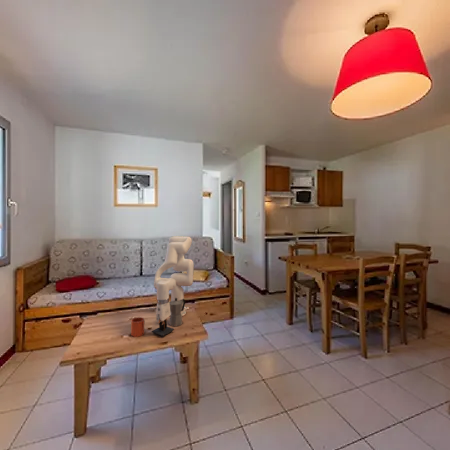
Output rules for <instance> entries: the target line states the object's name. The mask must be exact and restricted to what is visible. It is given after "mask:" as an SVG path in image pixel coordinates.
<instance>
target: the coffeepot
mask: <svg viewBox="0 0 450 450" xmlns="http://www.w3.org/2000/svg"><path fill="white" fill-rule="evenodd" d="M169 303H170V312H171V316H169V322H168V325H169V327H170V326H171V327H180V326H182V325H183V323H184V322H183V316H182V315H181V311H183V310H184V307H186V300H185V298H184V299H182V300H180V301H179V300H177V298H175V301H171V300H170V301H169ZM182 305H183V306H182Z"/></svg>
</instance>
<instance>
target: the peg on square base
mask: <svg viewBox="0 0 450 450" xmlns="http://www.w3.org/2000/svg"><path fill="white" fill-rule="evenodd" d="M173 331H175V328H174V327H170V326H167V328H165V321H164V331H162V330H159V327H157V328H155V329H153V330H151V333H153V334H155V335H157V336H161V337H164V336H166V335H168V334H170V333H171V332H173Z"/></svg>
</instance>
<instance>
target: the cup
mask: <svg viewBox="0 0 450 450" xmlns="http://www.w3.org/2000/svg"><path fill="white" fill-rule="evenodd" d="M144 334H145V317H142V316H139V317H138V316H137V317H134V318H132V319H131V320H130V336H131V337H134V338H138V337H142V336H143V335H144Z"/></svg>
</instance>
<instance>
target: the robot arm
mask: <svg viewBox="0 0 450 450" xmlns="http://www.w3.org/2000/svg"><path fill="white" fill-rule="evenodd" d="M192 240H193V239H192V237H190V236H185V235H183V236H182V235H174V236H170V237H168V243H167V246H166V250H165V257H164V262H163V263H162V264H161V265H160V266H159V267H158V268H157V270H156V271H155V274H154V280H153V287H154V289H156V309H155V312H156V313H155V319H156V324H158V328H159V330H162V331H164V321H165V328H167V327H168V319H169V318H170V316H171V312H170V302H171V301H175V298H177V300H179V301H180V300H182V299H184V300H185V290H184V288H183V287H191V286H193V284H194V268H195V267H194V266H195V263H194V261H193V260H192V258H191V259H190V258H185V255H186V254H187V253H188V252H189V250H190V248H191V247H192V242H193V241H192ZM171 268H172V269H173V271H175V272H174V273H172V274H171V275H170V276H169V277H161V276H162V275H163V273H164V272H166V271H167V270H169V269H171ZM184 272H185V273H184ZM182 306H183V305H182ZM188 310H190V307H189V306H184V310H183V311H181V315H182V317H184V316H185V315H186V314H187V311H188Z"/></svg>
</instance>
